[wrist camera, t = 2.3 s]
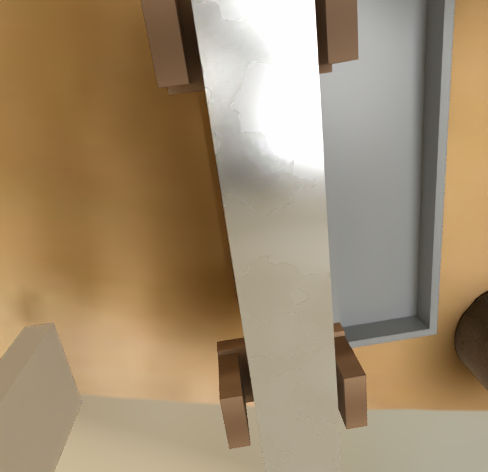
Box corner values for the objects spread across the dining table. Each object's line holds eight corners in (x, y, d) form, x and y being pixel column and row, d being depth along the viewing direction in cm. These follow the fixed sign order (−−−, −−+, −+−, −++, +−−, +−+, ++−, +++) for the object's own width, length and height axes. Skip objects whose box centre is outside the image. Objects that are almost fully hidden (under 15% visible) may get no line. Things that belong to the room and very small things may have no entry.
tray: (299, -71, 23) (309, -89, 21) (435, -89, 23) (460, -109, 21) (325, 332, 33) (334, 350, 31) (420, 316, 34) (436, 334, 31)
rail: (178, -89, 14) (168, -146, 10) (281, -102, 14) (304, -163, 10) (259, 431, 22) (268, 492, 19) (322, 420, 22) (342, 479, 19)
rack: (173, 26, 24) (132, -40, 11) (278, 12, 25) (355, -70, 12) (222, 305, 32) (231, 456, 19) (303, 292, 32) (367, 433, 19)
